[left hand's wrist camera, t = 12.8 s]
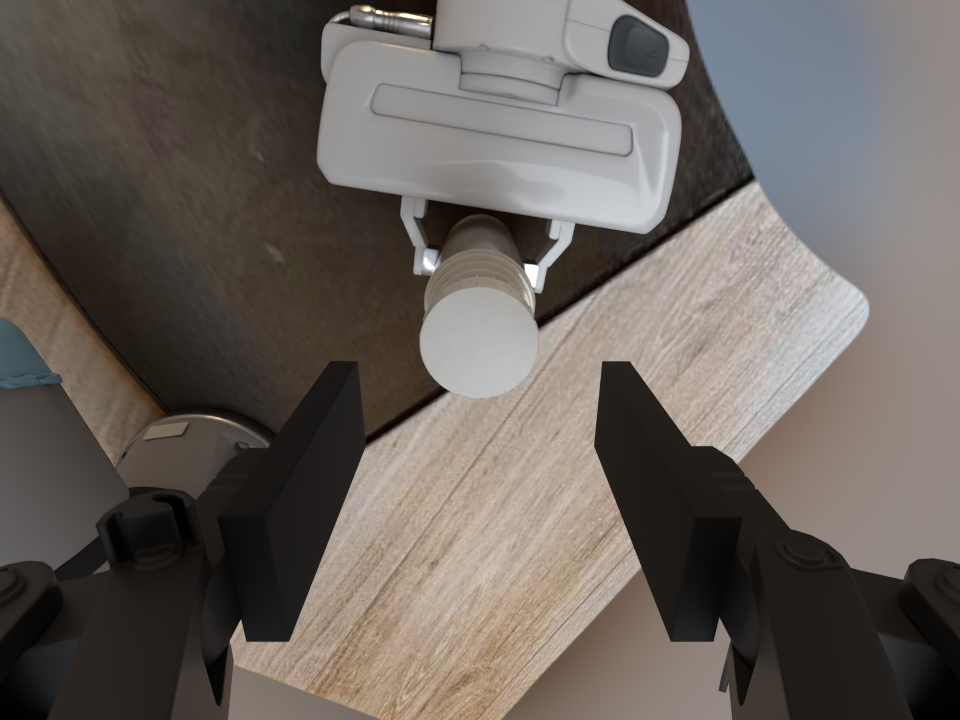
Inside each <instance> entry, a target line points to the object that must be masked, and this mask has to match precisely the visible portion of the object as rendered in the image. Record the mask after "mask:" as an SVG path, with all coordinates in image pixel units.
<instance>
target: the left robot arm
mask: <svg viewBox="0 0 960 720" xmlns="http://www.w3.org/2000/svg"><path fill="white" fill-rule="evenodd" d="M61 382H63V380H62V378H61V376H60V375H58V374H55V373H53V372H52V371H51V370H50V368H49V367H48V366H47V364H46V363H45V362H44V360H43V359H42V358H41V356H40V355H39V353H38V352H37V351H36V349H35V348H34V347H33V345H32V344H31V343H30V341H29V340H28V339H27V337H26V336H25V335H24V333H23V332H22V331H21V330H20V329H19V328H18V327H17V326H16V325H15V324H13V323H12V322H10V321H8V320H7V319H4V318H2V317H0V720H228V713H229V702H230V692H231V681H232V671H233V655H232V649H231V645H230V639H231V637H232V635H233V633H234V631H235V629H236V627H237V625H238V624H239V622H240V620H242V625H243V629H244V633H245V637H246V641H247V642H289V640H290V638H291V635H292V633H293V630H294V628H295V625H296V623H297V620H298V618H299V615H300V612H301V610H302V607H303V605H304V602H305V600H306V597H307V595H308V592H309V590H310V587H311V584H312V582H313V579H314V577H315V574H316V572H317V569H318V567H319V564H320V562H321V559H322V556H323V554H324V551H325V549H326V546H327V544H328V541H329V539H330V536H331V534H332V531H333V528H334V526H335V523H336V521H337V518H338V516H339V513H340V511H341V508H342V506H343V503H344V500H345V498H346V495H347V493H348V490H349V488H350V485H351V483H352V480H353V478H354V475H355V472H356V470H357V467H358V465H359V462H360V460H361V457H362V455H363V452H364V450H365V447H366V442H365V432H364V422H363V411H362V401H361V391H360V381H359V370H358V361H330V363H329V364H328V365H327V367H326V368H325V370H324V371H323V372H322V374H321V375H320V376H319V378H318V379H317V381H316V382H315V383H314V385H313V386H312V387H311V389H310V390H309V392H308V393H307V394H306V396H305V397H304V398H303V400H302V401H301V403H300V404H299V405H298V407H297V408H296V409H295V411H294V412H293V414H292V415H291V416H290V418H289V419H288V420H287V422H286V423H285V425H284V426H283V427H282V429H281V430H280V431H279V433H278V434H277V436H276V437H275V436H274V435H273V434H272V433H271V432H269V431H268V430H267V429H265V428H264V427H262V426H261V425H259V424H258V423H256V422H254V421H252V420H250V419H248V418H246V417H244V416H241V415H239V414H236V413H233V412H229V411H226V410H221V409H215V408H203V407H196V408H186V409H180V410H176V411H173V412H170V413H167V414H165V415H163V416H161V417H159V418H157V419H156V420H154V421H152V422H151V423H150V424H149V425H148V426H146V427H145V428H144V429H143V430H141V431H140V432H139V433H138V434H136V435H135V436H134V437H133V438H132V439H131V440H130V441H129V443H128V444H127V446H126V447H125V449H124V451H123V452H122V454H121V456H120V458H119V460H118V463H117V465H116V469H115V467H114V466H113V464H112V463H111V461H110V460H109V458H108V456H107V455H106V453H105V452H104V450H103V449H102V447H101V446H100V444H99V443H98V441H97V440H96V438H95V437H94V435H93V433H92V432H91V430H90V429H89V427H88V426H87V424H86V423H85V421H84V420H83V418H82V417H81V415H80V414H79V412H78V410H77V409H76V407H75V406H74V404H73V403H72V401H71V400H70V398H69V397H68V395H67V394H66V392H65V391H64V389H63V387H62V386H61V384H60V383H61ZM594 447H595V450H596V452H597V455H598V457H599V460H600V462H601V465H602V467H603V470H604V472H605V475H606V478H607V480H608V483H609V485H610V488H611V490H612V493H613V495H614V498H615V500H616V503H617V506H618V508H619V511H620V513H621V516H622V518H623V521H624V523H625V526H626V528H627V531H628V534H629V536H630V539H631V541H632V544H633V546H634V549H635V551H636V554H637V556H638V559H639V562H640V564H641V567H642V569H643V572H644V574H645V577H646V579H647V582H648V584H649V587H650V590H651V592H652V595H653V597H654V600H655V602H656V605H657V607H658V610H659V612H660V615H661V617H662V620H663V623H664V625H665V628H666V630H667V633H668V635H669V638H670V640H671V642H713V641H714V637H715V633H716V629H717V625H718V620H719V617H720V619H721V621H722V623H723V625H724V627H725V629H726V631H727V633H728V634H729V636H730V638H731V641H730V645H729V649H728V653H727V657H726V661H725V665H724V668H723V672H722V676H721V680H720V686H719V691H721V692H725V693H726V690H727V686H728V682H729V690H730V700H731V711H732V720H960V564H957V563H954V562H950V561H945V560H939V559H934V558H930V559H918V560H916V561H915V562H913V563H912V564H910V565H909V567H908V569H907V572H906V574H905V577H904V579H903V580H901V579H897V578H892V577H887V576H883V575H878V574H874V573H869V572H865V571H860V570H857V569H853V568H850V566H849V565H848V563H847V562H846V560H845V559H844V557H843V556H842V555H841V554H840V553H839V552H837V551H836V550H835V549H834V548H832V547H831V546H830V545H829V544H827V543H825V542H823V541H821V540H819V539H818V538H816V537H814V536H812V535H809V534H806V533H802V532H799V531H796V530H791V529H790V528H789V527H788V526H787V524H786V523H785V522H784V521H783V520H782V518H781V517H780V516H779V515H778V513H777V512H776V511H775V510H774V509H773V507H772V506H771V505H770V504H769V503H768V501H767V500H766V499H765V498H764V497H763V495H762V494H761V493H760V492H759V491H758V490H757V489H755V486H754V485H753V483H752V482H751V481H750V480H749V479H748V477H745V476H744V473H743V471H742V470H741V469H740V468H739V467H738V465H737V464H736V463H735V462H734V461H733V459H731V458H730V457H728V456H727V455H725V454H724V453H722V452H721V451H719V450H718V449H716V448H714V447H713V446H691V445H690V444H689V442H688V441H687V440H686V438H685V437H684V436H683V434H682V433H681V431H680V430H679V429H678V427H677V426H676V425H675V423H674V422H673V420H672V419H671V418H670V416H669V415H668V414H667V412H666V411H665V409H664V408H663V407H662V405H661V404H660V403H659V401H658V400H657V398H656V397H655V396H654V394H653V393H652V392H651V390H650V389H649V387H648V386H647V385H646V383H645V382H644V381H643V379H642V378H641V376H640V375H639V374H638V372H637V371H636V370H635V368H634V367H633V365H632V364H631V363H630V361H602V370H601V381H600V391H599V401H598V411H597V422H596V432H595V442H594Z"/></svg>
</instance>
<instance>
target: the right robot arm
mask: <svg viewBox="0 0 960 720" xmlns="http://www.w3.org/2000/svg"><path fill="white" fill-rule="evenodd" d="M436 11H437V13H436V15H435V16H429V15H424V14H423V15H422V14H416V13H410V12H403V11H401V12H400V11H387V10H385V11H384V10H381V9H377V8H376V7H374V6H371V5H366V4H352V5H351V7H350V11H343V12H340V13H337V14H336V15H334V16H333V17H332V18H331V19H330V20H329V21H328V22H327V24H326V25H325V27H324V30H323V33H322V38H321V72H322V76H323V79H324V82H325V84H326V85H327V87H326V91H325V96H324V101H323V107H322V113H321V120H320V128H319V136H318V147H317V164H318V166H319V168H320V170H321V171H322V173H323V174H324V176H325V177H326V179H327V180H328V182H330V183H331V184H336V185H341V186H348V187H354V188H360V189H366V190H373V191H379V192H385V193H391V194H397V195H402V201H401V212H400V216H401V218H402V220H403V223H404V225H405V227H406V230H407V232H408V234H409V236H410V239H411V241H412V243H413V245H414V246H416V250H415V259H414V269H413V274H417V275H424V276H431V274H432V272H433V269H434V267H435V265H436V262H437V260H438V257H439V255H440V253H441V246H440V245H434V244H429V241H428V239H427V237H426V234H425V232H424V229H423V227H422V224H421V222H420V219H419V218H422V217H424V216H425V215H426V214H427V209H428V201H429V200H435V201H441V202H447V203H454V204H460V205H466V206H472V207H478V208H485V209H491V210H497V211H503V212H510V213H516V214H522V215H528V216H535V217H541V218H547V224H546V230H545V232H546V234H547V235H548V236H549V237H550V238H551V239H550V241H549V242H548V243H547V244H546V246H545V247H544V248H543V249H542V250H541V252H540V253H539V254H538V255H537V257H536V258H535V259H534V260H531V259H523V258H522V261H523V263H524V266H525V268H526V271H527V273H528V276H529V279H530V281H531V284H532V287H533V290H534V292H535V293H541V292H542V290H543V285H544V281H545V276H546V271H547V267H550V266H551V265H552V263H553V262H554V261H555V260H556V259H557V258H558V257H559V256H560V254H561V253H562V252H563V251H564V250H565V249H566V248H567V246H568V245H569V244H570V243H571V240H572V236H573V231H574V227H575V223H578V224H584V225H591V226H597V227H603V228H609V229H616V230H622V231H628V232H634V233H641V234H646V233H648V232H649V231H651V230H652V229H653V228H654V227H655V226H656V225H657V224H659V223H660V222H661V221H662V219H663V218H664V216H665V213H666V210H667V207H668V204H669V200H670V196H671V192H672V187H673V183H674V178H675V173H676V167H677V162H678V155H679V148H680V141H681V116H680V112H679V109H678V106H677V104H676V102H675V101H674V100H673V98H672V97H671V96H670V95H668V94H667V93H666V92H664V91H666V90H668V89H670V88H672V87H674V86H675V85H677V84H678V83H679V82H680V81H681V79H682V78H683V76H684V73H685V71H686V68H687V64H688V61H689V53H690V51H689V46H688V44H687V43H686V42H685V41H684V40H683V39H682V38H681V37H679V36H678V35H677V34H675V33H673V32H672V31H670V30H668V29H667V28H665V27H663V26H662V25H660V24H659V23H657V22H655V21H654V20H652V19H650V18H649V17H647V16H646V15H644V14H643V13H641V12H639V11H638V10H636V9H635V8H633V7H632V6H630V5H629V4H627V3H626V2H624V1H623V0H437V9H436ZM345 20H350V23H351V25H352V26H348V25H342V24H339V23H340V22H342V21H345ZM353 26H355V27H353ZM376 30H379V31H376ZM381 31H386V32H381ZM387 32H390V33H387ZM393 33H394V34H393ZM432 38H433V51H432Z"/></svg>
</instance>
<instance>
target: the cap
mask: <svg viewBox="0 0 960 720" xmlns="http://www.w3.org/2000/svg"><path fill="white" fill-rule="evenodd" d="M533 317H534V314H533V311H532V308H531V306H529V305H528V303H527V302H526V300H525V299H524V297H523V294H522V293H521V294H520V293H519V292H518V291H517V290H515V289H514V288H513V287H511V286H510V283H508V284H507V283H504V282H502V281H500V280H497V279H495V277H493V278H489V277H478V275H476V277H470V278H465V279H462V278H460V279H459V281H456V282H454V283H452V284H450V285H449V286H447V285H446V286H445V288H444V289H443V290H442V291H441V292H440V293H439V294H438V295H437V296H436V297H435V296H434V297H433V300H432V303H431V305H430V307H429V309H428V310H426V312H425V315H424V318H423V321H424V323H423V326H422V329H421V332H420V334H419V337H420V351H421V355H422V359H423V362H424V364H425V366H426V368H427V370H428V371H429V373H430V374H431V376H432V377H433V378H434V379H435V380H436V381H437V382H438V383H439V384H440V385H441V386H443V387H444V388H446V389H447V390H449V391H451V392H453V393H455V394H458V395H461V396H464V397H469V398H490V397H495V396H498V395H501V394H504V393H506V392H508V391H510V390H511V389H513V388H515V387H516V386H517V385H518V384H520V383H521V382H522V381H523V380H524V379H525V378H526V377H527V375H528V374H529V372H530V371H531V369H532V367H533V366H534V363H535V361H536V358H537V354H538V348H539V336H538V332H539V330H538V327H537V324H536V321H534V318H533Z"/></svg>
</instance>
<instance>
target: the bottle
mask: <svg viewBox="0 0 960 720" xmlns="http://www.w3.org/2000/svg"><path fill="white" fill-rule="evenodd" d="M476 275H478V277H489V278H493V277H495V279H497V280H500V281H502V282H504V283H507V284H508V283H510V286H511V287H513V288H514V289H515V290H517V291H518V292H519V293H520V294H521V293H522V294H523V297H524V299H525V300H526V302H527V303H528V305H529V306H531V308H532V311H533V314H534V311H535V295H534V290H533V287H532V284H531V281H530V279H529V276H528V273H527V271H526V268H525V266H524V263H523V261H522V258H521V256H520V253H519V251H518V248H517V246H516V243H515V241H514V238H513V236H512V234H511V232H510V230H509V229H508V228H507V226H506V225H505V224H504V223H502V222H501V221H500V220H498V219H496V218H494V217H492V216H489V215H482V214H478V215H471V216H468V217H465V218H463V219H462V220H460V221H459V222H457V223H456V224H455V225H454V226H453V228H452V229H451V230H450V232H449V233H448V236H447V238H446V240H445V243H444V245H443V248H442V250H441V253H440V255H439V257H438V260H437V262H436V265H435V267H434V269H433V272H432V274H431V277H430V279H429V282H428V284H427V287H426V290H425V296H424V309H425V312H426V310H428V309H429V307H430V305H431V303H432V300H433V297H434V296H435V297H436V296H437V295H438V294H439V293H440V292H441V291H442V290H443V289H444V288H445V286H446V285H447V286H449V285H450V284H452V283H454V282H456V281H459V279H460V278H462V279H465V278H470V277H476Z"/></svg>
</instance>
